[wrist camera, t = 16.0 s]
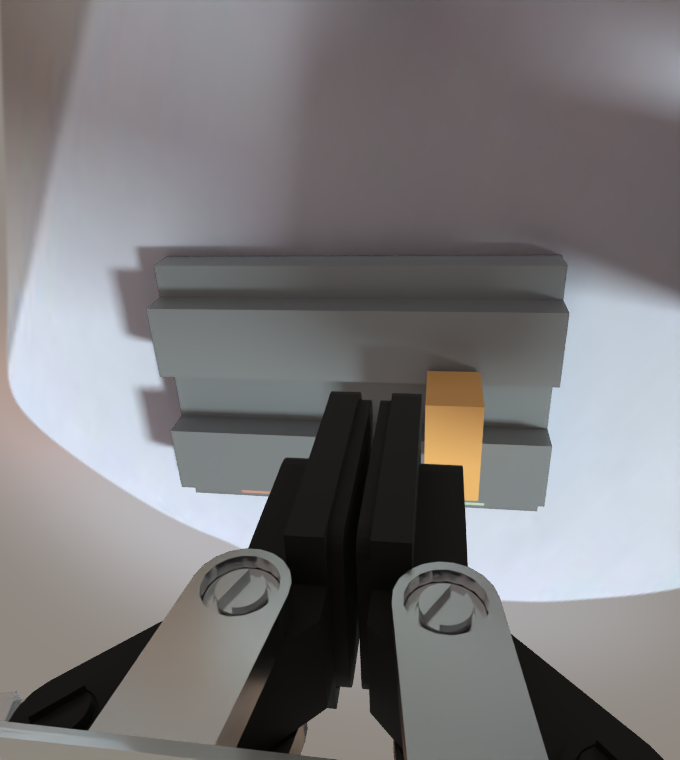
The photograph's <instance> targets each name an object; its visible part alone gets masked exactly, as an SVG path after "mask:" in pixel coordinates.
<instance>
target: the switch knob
mask: <svg viewBox="0 0 680 760" xmlns="http://www.w3.org/2000/svg"><path fill="white" fill-rule="evenodd" d="M484 409H485V406H484V397H483V388H482V380H481V372H454V371H427V384H426V403H425V453H424V464H442V465H462V466H463V476H464V498H465V500H466V501H478V497H479V482H480V468H481V453H482V438H483V424H484Z"/></svg>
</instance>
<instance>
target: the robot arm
mask: <svg viewBox="0 0 680 760" xmlns="http://www.w3.org/2000/svg"><path fill="white" fill-rule="evenodd" d="M421 434H422V394H410V393H392V398H391V401H387V400H381V401H380V406H379V412H378V417H377V423H376V428H375V434H374V439H373V404H372V400H362V395H361V392H342V391H331V393H330V396H329V399H328V402H327V405H326V408H325V411H324V414H323V417H322V420H321V423H320V426H319V429H318V432H317V435H316V438H315V441H314V444H313V447H312V450H311V453H310V456H309V458H289V457H287V458H285V459H284V460H283V462H282V464H281V466H280V469H279V472H278V474H277V477H276V479H275V482H274V484H273V487H272V489H271V492H270V494H269V497H268V499H267V502H266V505H265V507H264V510H263V512H262V515H261V517H260V520H259V522H258V525H257V527H256V530H255V533H254V535H253V538H252V540H251V543H250V545H249V548H248V549H247V548H246V549H239V550H233V551H229V552H226V553H224V554H221V555H219V556H216V557H215V558H213V559H212V560H210V561H209V562H207V563H205V564H204V565H203V566H202V567H201V568H200V569H199V570H198V572H197V573H196V574H195V575H194V576H193V578H192V579H191V581H190V582H189V584H188V585H187V586H186V588H185V589H184V591H183V592H182V594H181V595H180V597H179V598H178V600H177V601H176V603H175V604H174V606H173V607H172V609H171V610H170V611H169V613H168V614H167V616H166V617H165V619H164V620H163V621H162V622H160V623H158V624H156V625H154V626H152V627H150V628H148V629H147V630H144V631H143V632H141V633H139V634H137V635H135V636H133V637H131V638H129V639H128V640H126V641H124V642H122V643H120V644H118V645H117V646H115V647H113V648H111V649H109V650H107V651H105V652H103V653H101V654H100V655H98V656H96V657H94V658H92V659H90V660H88V661H86V662H84V663H82V664H81V665H79V666H77V667H75V668H73V669H71V670H69V671H67V672H66V673H64V674H62V675H60V676H58V677H56V678H54V679H52V680H50V681H49V682H47V683H46V684H44V685H43V686H41V687H40V688H38V689H37V690H35V691H34V692H33V693H32V694H31V695H29V696H28V697H27V698H26V699H20V698H19V695H18V693H17V691H15V692H6V693H0V760H335V759H326V758H318V757H310V756H302V755H301V752H302V749H303V746H304V743H305V740H306V735H307V730H308V727H307V722H308V721H309V720H311V719H312V718H314V717H315V716H316V715H318V714H319V713H321V712H322V711H323V710H325V709H326V708H333V709H336V708H337V703H338V696H339V690H340V687H352V685H353V679H354V672H355V664H356V658H357V651H358V645H359V638H360V656H361V657H360V658H361V680H362V688H363V689H369V695H370V713H371V714H372V715H373V716H374V717H375V719H376V720H377V721H378V722H379V723H380V724H381V725H382V727H383V728H384V729H385V730H386V731H387V732H388V734H389V735H390V736H391V737H392V738H393V753H394V760H664V759H663V758H662V757H661V756H660V755H659V754H658V753H657V752H656V751H655V750H654V749H653V748H652V747H651V746H650V745H649V744H647V743H646V742H645V741H644V740H642V739H641V738H640V737H639V736H637V735H636V734H635V733H634V732H632V731H631V730H630V729H629V728H627V727H626V726H625V725H623V724H622V723H621V722H620V721H619V720H617V719H616V718H615V717H614V716H612V715H611V714H610V713H609V712H607V711H606V710H605V709H603V708H602V707H601V706H600V705H599V704H598V703H596V702H595V701H594V700H593V699H591V698H590V697H589V696H587V695H586V694H585V693H584V692H583V691H581V690H580V689H579V688H578V687H576V686H575V685H574V684H572V683H571V682H570V681H569V680H568V679H566V678H565V677H564V676H563V675H561V674H560V673H559V672H557V671H556V670H555V669H554V668H553V667H551V666H550V665H549V664H548V663H546V662H545V661H544V660H543V659H541V658H540V657H539V656H538V655H537V654H535V653H534V652H533V651H532V650H530V649H529V648H527V646H525V645H524V644H523V643H522V642H520V641H519V640H518V639H516V638H515V637H514V636H513V635H512V634H511V633H510V630H509V627H508V623H507V620H506V616H505V613H504V610H503V606H502V603H501V600H500V597H499V595H498V593H497V591H496V589H495V587H494V586H493V585H492V584H491V583H490V582H489V581H488V580H487V579H486V578H485V577H484V576H483V575H482V574H480V573H478V572H477V571H475V570H473V569H471V568H470V567H468V563H467V541H466V520H465V498H464V476H463V466H462V465H442V464H421Z"/></svg>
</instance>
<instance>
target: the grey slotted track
mask: <svg viewBox="0 0 680 760" xmlns="http://www.w3.org/2000/svg"><path fill="white" fill-rule="evenodd" d="M154 269H155V274H156V280H157V285H158V290H159V296H160V298H158V299H157V300H156V301H155V302H154V303H153V304H152V305H150V306H149V307H148V308H147V309H146V310H147V315H148V320H149V325H150V330H151V335H152V340H153V345H154V350H155V355H156V360H157V365H158V370H159V375H160V377H175V381H176V387H177V392H178V397H179V403H180V408H181V413H182V416H181V417H180V419H179V420H178V422H177V423H176V424H175V426H174V427H173V429H172V430H171V435H172V440H173V445H174V450H175V455H176V460H177V465H178V470H179V475H180V480H181V485H182V487H195V488H196V492H200V493H218V494H236V495H254V496H269V494H270V492H271V489H272V487H273V484H274V482H275V479H276V477H277V474H278V472H279V469H280V466H281V464H282V462H283V460H284V459H285V458H287V457H289V458H309V456H310V453H311V450H312V447H313V444H314V441H315V438H316V435H317V432H318V429H319V426H320V423H321V420H322V417H323V414H324V411H325V408H326V405H327V402H328V399H329V396H330V393H331V391H342V392H361V395H362V400H372V404H373V439H374V434H375V428H376V423H377V417H378V412H379V406H380V401H381V400H387V401H391V398H392V393H410V394H422V434H421V464H424V453H425V403H426V384H427V371H454V372H481V380H482V388H483V397H484V406H485V409H484V424H483V438H482V453H481V468H480V482H479V497H478V501H466V500H465V507H470V508H488V509H506V510H524V511H537V507H538V506H544V504H545V497H546V489H547V481H548V474H549V466H550V458H551V451H552V445H551V441H550V437H549V434H548V430H547V426H548V418H549V410H550V402H551V394H552V387H560V381H561V374H562V366H563V358H564V351H565V343H566V335H567V327H568V320H569V311H568V309H567V307H566V305H565V303H564V301H563V297H564V289H565V281H566V273H567V264H566V262H565V261H564V259H563V257H562V255H464V256H172V257H165V258H164V259H163V260H161V261H160V262H159V263H157V264H156V265H155V266H154Z"/></svg>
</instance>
